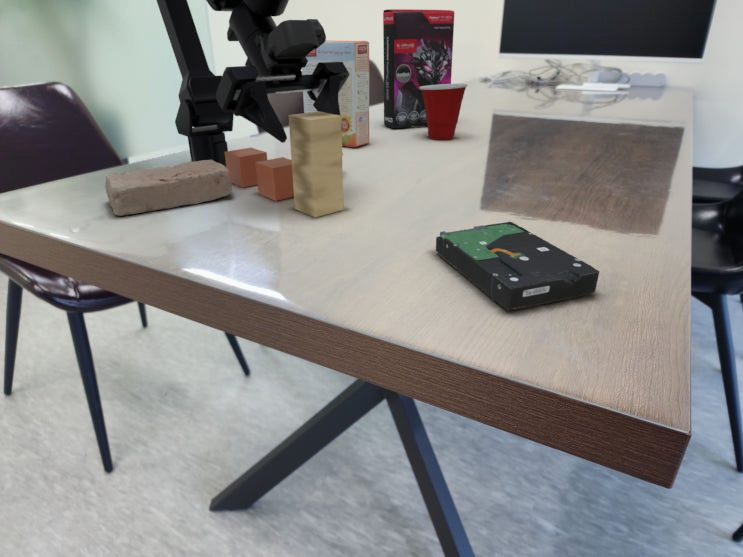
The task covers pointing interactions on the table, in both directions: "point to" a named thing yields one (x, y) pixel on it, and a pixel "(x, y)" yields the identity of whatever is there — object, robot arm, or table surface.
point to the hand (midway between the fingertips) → (313, 136)
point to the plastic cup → (442, 108)
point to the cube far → (244, 165)
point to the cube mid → (275, 178)
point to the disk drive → (516, 265)
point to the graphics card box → (414, 61)
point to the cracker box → (346, 87)
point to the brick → (167, 187)
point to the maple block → (317, 162)
